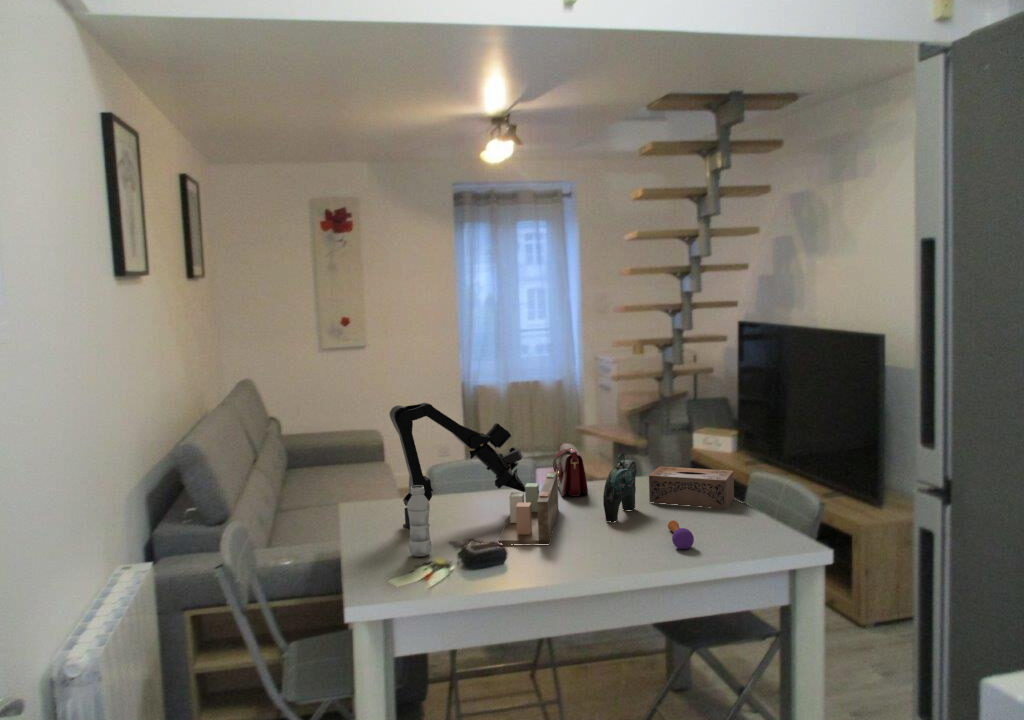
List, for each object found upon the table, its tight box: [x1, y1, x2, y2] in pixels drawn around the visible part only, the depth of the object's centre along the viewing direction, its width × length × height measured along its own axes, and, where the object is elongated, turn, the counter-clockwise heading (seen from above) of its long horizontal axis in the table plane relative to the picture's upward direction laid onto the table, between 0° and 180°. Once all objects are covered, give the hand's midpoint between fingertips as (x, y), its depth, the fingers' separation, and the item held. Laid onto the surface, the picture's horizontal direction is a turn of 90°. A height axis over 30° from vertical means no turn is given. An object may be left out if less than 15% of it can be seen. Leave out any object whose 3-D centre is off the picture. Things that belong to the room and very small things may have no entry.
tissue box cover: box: [648, 466, 735, 510], centre depth 274 cm, size 26×14×10 cm, turn 65°
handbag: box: [552, 442, 589, 497], centre depth 296 cm, size 28×11×17 cm, turn 3°
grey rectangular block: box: [509, 491, 525, 523], centre depth 252 cm, size 4×5×8 cm
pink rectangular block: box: [516, 501, 532, 535], centre depth 240 cm, size 4×5×8 cm
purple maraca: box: [667, 520, 695, 550], centre depth 232 cm, size 6×6×20 cm
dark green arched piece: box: [602, 453, 637, 522], centre depth 259 cm, size 20×6×20 cm, turn 149°
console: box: [497, 471, 559, 546], centre depth 252 cm, size 15×38×14 cm, turn 173°
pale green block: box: [524, 482, 540, 512], centre depth 263 cm, size 4×5×8 cm
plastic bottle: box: [406, 485, 433, 558], centre depth 227 cm, size 6×7×20 cm
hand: (525, 491), depth 264 cm, fingers closed, pressing on pale green block
